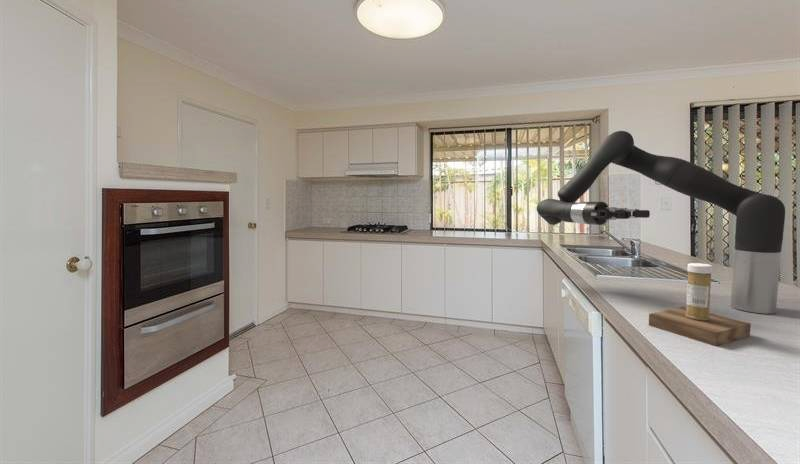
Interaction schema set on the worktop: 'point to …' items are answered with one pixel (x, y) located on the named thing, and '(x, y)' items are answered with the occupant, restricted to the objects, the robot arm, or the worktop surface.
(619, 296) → the worktop surface
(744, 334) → the walnut base
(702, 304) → the spice jar
